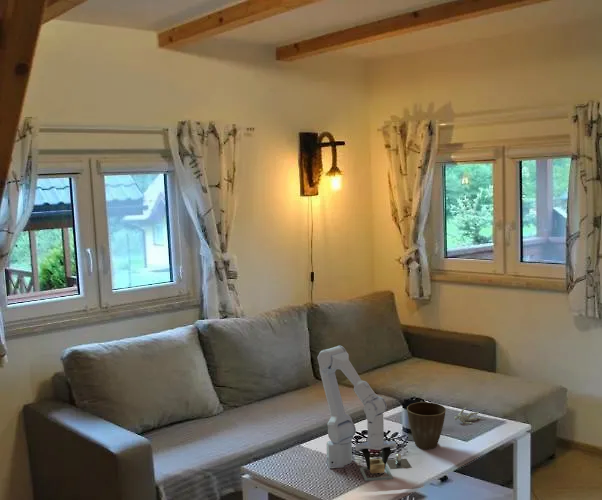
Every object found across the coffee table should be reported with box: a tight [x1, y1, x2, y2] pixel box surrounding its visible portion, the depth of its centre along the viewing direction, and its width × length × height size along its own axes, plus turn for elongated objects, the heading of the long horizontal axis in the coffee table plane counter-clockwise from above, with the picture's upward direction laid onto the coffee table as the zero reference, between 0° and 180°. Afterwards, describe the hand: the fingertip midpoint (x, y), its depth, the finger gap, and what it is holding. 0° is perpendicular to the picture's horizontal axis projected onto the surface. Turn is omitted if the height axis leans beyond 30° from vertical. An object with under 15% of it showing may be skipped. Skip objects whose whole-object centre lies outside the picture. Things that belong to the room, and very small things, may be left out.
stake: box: [386, 453, 413, 470], centre depth 262 cm, size 8×8×4 cm
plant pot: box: [406, 401, 447, 450], centre depth 278 cm, size 15×15×16 cm
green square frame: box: [359, 465, 394, 482], centre depth 255 cm, size 10×10×2 cm
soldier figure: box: [453, 407, 481, 425], centre depth 306 cm, size 8×5×12 cm
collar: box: [368, 458, 386, 474], centre depth 254 cm, size 5×5×3 cm
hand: (376, 468), depth 254 cm, fingers closed on collar, 5 cm apart
